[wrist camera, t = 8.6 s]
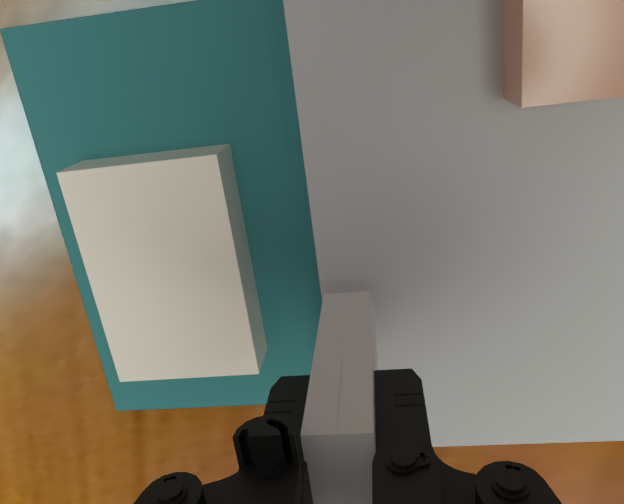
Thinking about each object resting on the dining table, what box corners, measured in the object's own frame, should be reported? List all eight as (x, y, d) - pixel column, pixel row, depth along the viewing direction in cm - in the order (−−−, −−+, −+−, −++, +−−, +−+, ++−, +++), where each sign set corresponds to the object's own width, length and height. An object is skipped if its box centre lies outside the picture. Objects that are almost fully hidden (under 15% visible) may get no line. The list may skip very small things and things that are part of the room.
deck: (273, -210, 17) (246, -277, 13) (772, -307, 15) (904, -417, 11) (345, 387, 25) (341, 449, 21) (678, 371, 23) (737, 436, 19)
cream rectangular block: (216, 154, 19) (229, 143, 21) (56, 173, 20) (82, 160, 22) (259, 373, 22) (267, 347, 24) (119, 382, 23) (138, 355, 25)
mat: (4, 29, 20) (-1, 29, 20) (296, -13, 19) (295, -15, 19) (119, 406, 26) (116, 410, 26) (346, 396, 25) (346, 400, 25)
